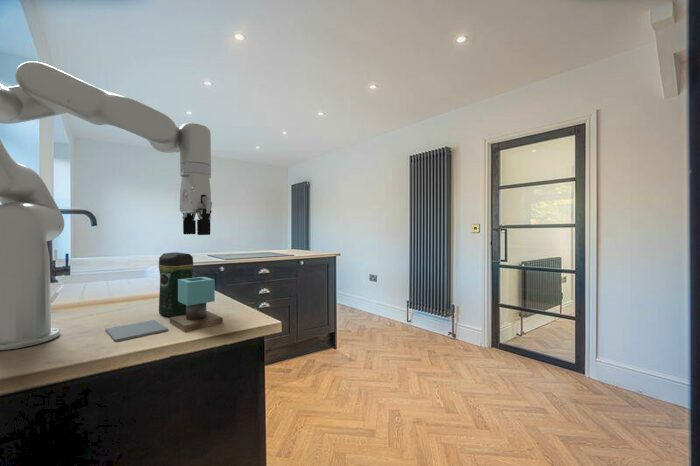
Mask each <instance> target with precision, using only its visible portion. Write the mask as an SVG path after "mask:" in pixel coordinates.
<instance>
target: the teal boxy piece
mask: <svg viewBox="0 0 700 466" xmlns="http://www.w3.org/2000/svg"><path fill="white" fill-rule="evenodd" d="M215 281H216V280H215V279H213V278H210V277H207V276H197V277H192V278H186V279H178V302H181V303H183V304H185V305H187V306H189V305H195V304H201V303H206V304H207V303H213V302H215V300H216V298H215V294H216V293H215V289H216V288H215V283H216V282H215Z"/></svg>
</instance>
